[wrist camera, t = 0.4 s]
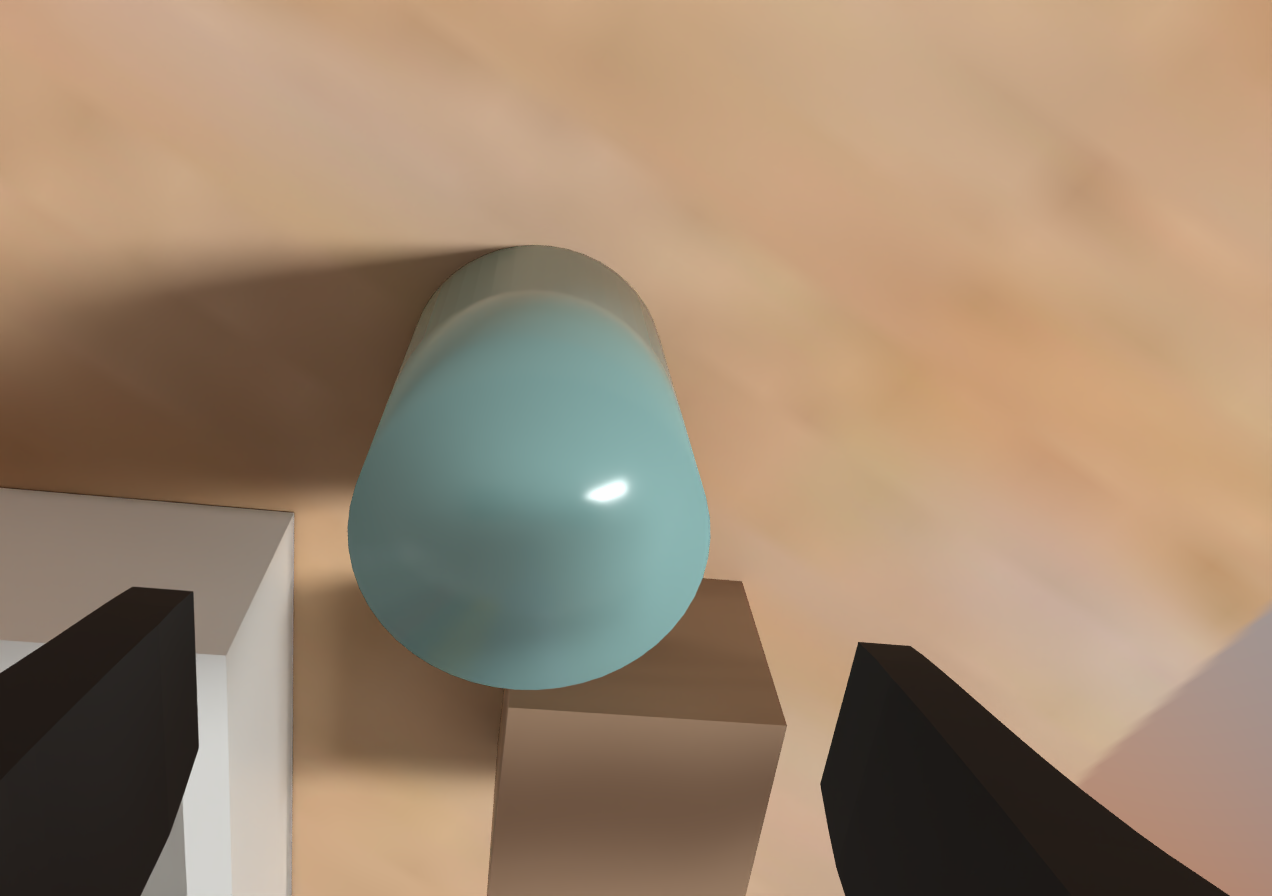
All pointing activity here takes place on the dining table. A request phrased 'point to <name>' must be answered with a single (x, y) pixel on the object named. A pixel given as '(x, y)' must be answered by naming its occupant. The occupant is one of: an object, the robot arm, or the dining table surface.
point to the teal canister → (531, 479)
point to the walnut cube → (643, 767)
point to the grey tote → (225, 657)
